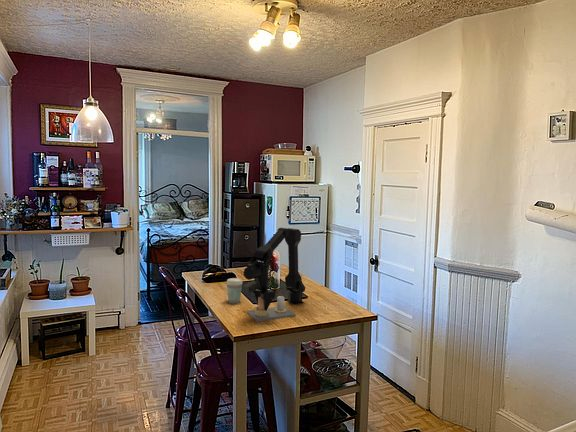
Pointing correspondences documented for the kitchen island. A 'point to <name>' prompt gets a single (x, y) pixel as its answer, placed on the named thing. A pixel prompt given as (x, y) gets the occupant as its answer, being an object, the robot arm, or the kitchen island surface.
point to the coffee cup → (234, 290)
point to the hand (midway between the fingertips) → (261, 307)
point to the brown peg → (260, 303)
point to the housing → (272, 312)
